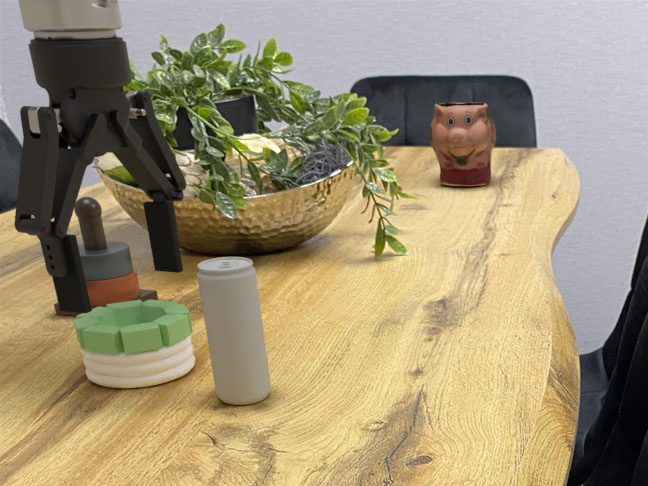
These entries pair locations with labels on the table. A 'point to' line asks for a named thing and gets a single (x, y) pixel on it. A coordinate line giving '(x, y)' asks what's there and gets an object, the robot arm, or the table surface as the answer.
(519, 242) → the table surface
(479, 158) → the decorative planter
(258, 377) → the beverage can
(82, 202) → the stacking stand
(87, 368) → the coaster
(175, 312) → the green ring
